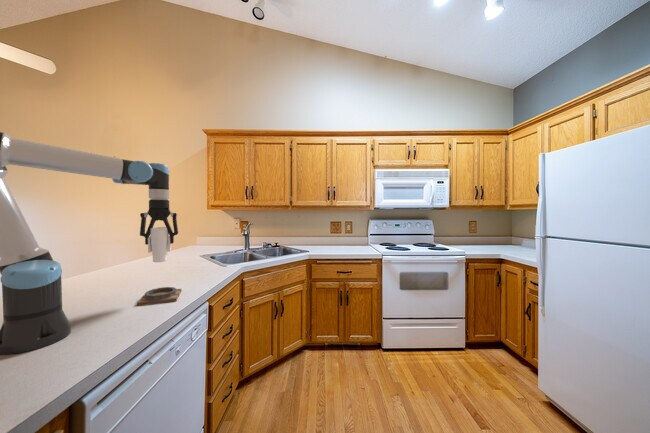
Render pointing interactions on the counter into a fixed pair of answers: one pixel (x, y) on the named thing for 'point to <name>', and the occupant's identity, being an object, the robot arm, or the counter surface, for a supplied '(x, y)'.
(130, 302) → the counter surface
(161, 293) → the ring holder
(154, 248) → the drinking glass
